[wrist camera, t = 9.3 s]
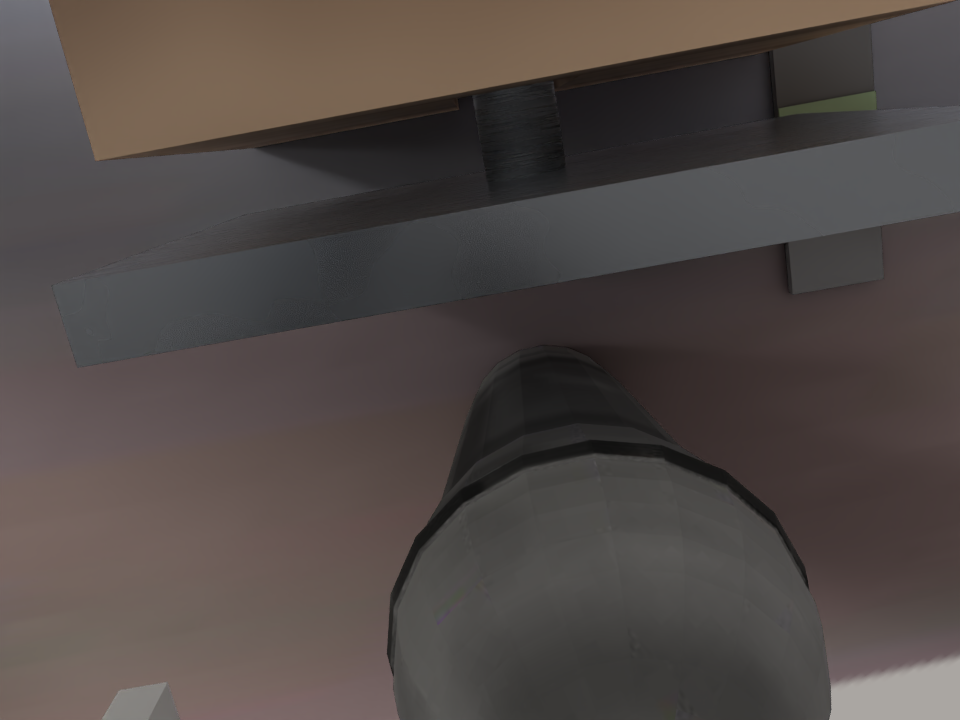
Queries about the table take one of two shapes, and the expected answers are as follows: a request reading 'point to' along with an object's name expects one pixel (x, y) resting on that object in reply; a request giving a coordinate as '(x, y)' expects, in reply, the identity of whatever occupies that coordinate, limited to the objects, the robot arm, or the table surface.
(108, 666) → the table surface
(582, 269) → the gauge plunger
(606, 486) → the beverage cup
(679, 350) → the table surface
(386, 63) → the brown boxy piece
